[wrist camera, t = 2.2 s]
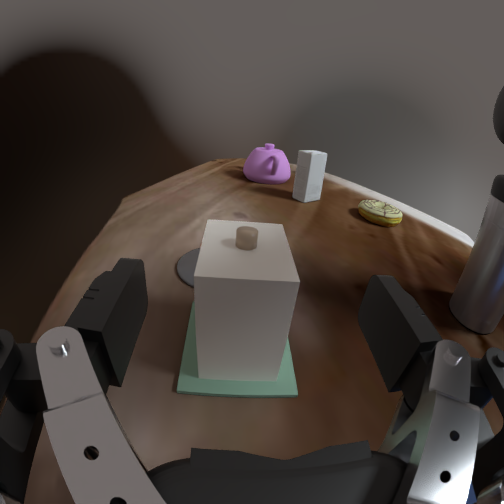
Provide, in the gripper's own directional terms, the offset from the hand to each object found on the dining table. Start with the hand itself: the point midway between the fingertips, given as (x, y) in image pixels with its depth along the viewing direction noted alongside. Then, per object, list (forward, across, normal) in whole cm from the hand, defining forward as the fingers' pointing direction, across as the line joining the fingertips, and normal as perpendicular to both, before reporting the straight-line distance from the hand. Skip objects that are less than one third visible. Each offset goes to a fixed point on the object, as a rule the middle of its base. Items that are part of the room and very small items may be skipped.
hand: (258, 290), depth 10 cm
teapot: (+77, -8, +14) cm, 79 cm away
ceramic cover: (+12, 0, +14) cm, 19 cm away
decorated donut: (+51, -33, +15) cm, 62 cm away
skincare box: (+59, -17, +14) cm, 63 cm away
